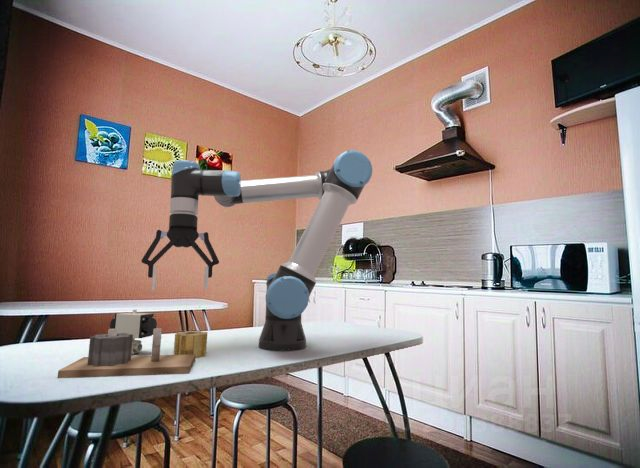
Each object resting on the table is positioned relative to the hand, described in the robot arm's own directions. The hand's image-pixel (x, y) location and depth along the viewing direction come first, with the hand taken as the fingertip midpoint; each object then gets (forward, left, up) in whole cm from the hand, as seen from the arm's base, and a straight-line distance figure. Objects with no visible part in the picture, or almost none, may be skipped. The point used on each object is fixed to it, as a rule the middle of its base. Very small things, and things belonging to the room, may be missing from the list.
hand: (180, 289), depth 99 cm
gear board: (+7, +12, -18) cm, 23 cm away
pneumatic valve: (+12, -6, -18) cm, 23 cm away
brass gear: (-4, -1, -18) cm, 18 cm away
